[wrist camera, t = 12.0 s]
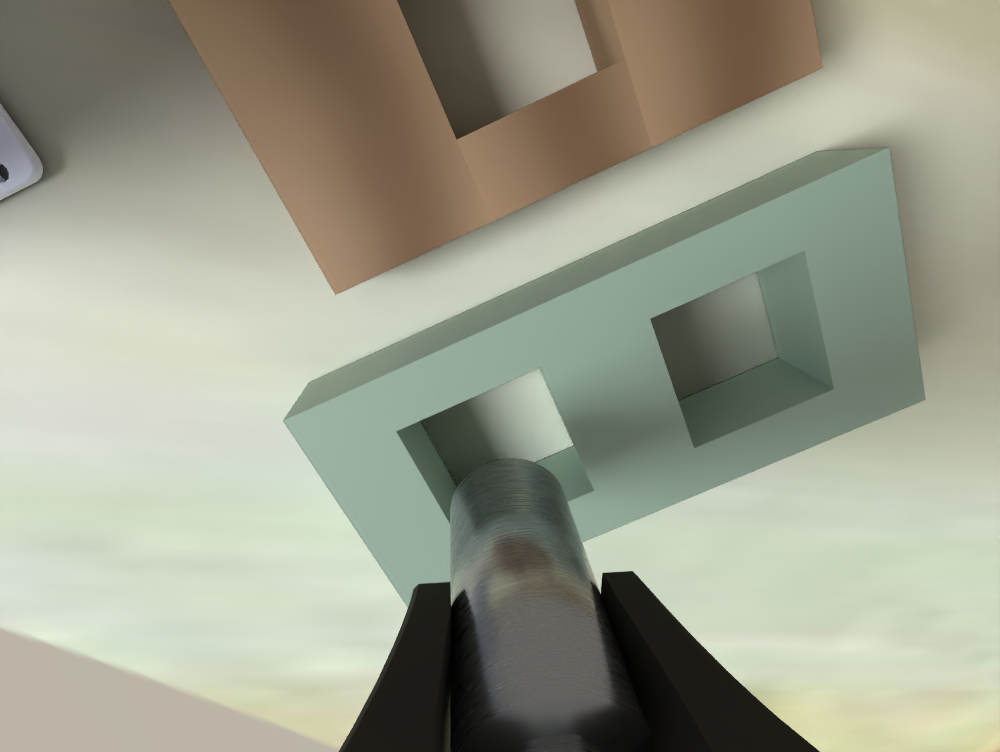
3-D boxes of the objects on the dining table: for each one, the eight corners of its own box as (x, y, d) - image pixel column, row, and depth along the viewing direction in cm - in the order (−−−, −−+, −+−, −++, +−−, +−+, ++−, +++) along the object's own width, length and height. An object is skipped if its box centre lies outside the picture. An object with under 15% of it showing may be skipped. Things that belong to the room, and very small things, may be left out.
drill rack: (417, 554, 21) (411, 613, 18) (308, 382, 18) (282, 421, 15) (857, 367, 20) (925, 399, 17) (816, 151, 17) (888, 147, 14)
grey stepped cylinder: (448, 557, 14) (446, 1113, 6) (452, 457, 13) (456, 958, 5) (559, 557, 15) (709, 1082, 6) (571, 459, 13) (772, 932, 5)
